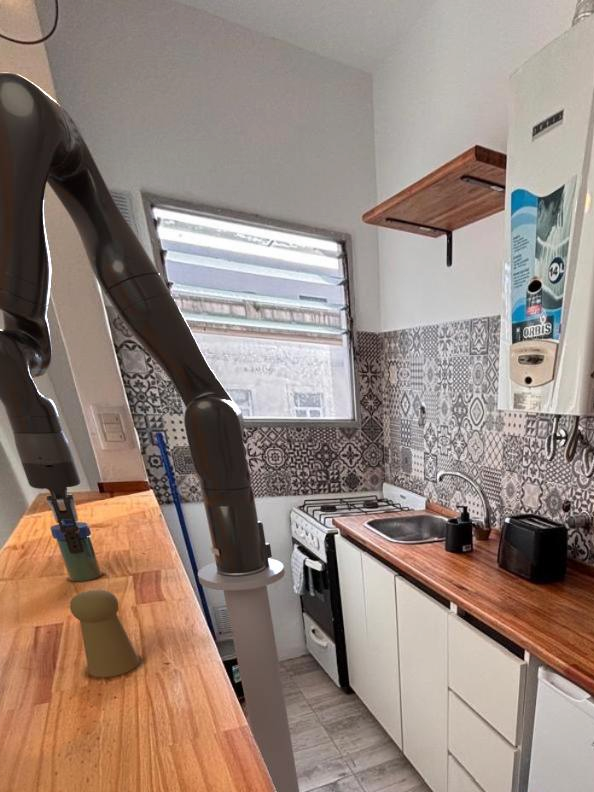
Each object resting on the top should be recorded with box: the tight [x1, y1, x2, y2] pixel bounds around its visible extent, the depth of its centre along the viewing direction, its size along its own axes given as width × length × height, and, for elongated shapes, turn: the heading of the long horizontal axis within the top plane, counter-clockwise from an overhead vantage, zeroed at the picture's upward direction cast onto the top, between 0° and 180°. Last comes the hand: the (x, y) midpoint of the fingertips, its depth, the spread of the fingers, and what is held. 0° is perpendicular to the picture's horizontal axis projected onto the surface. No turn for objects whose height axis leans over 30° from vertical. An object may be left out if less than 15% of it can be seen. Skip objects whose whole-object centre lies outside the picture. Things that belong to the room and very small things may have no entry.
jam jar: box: [55, 535, 102, 582], centre depth 100 cm, size 5×5×10 cm
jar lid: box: [49, 521, 92, 540], centre depth 98 cm, size 6×6×2 cm
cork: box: [69, 589, 140, 678], centre depth 70 cm, size 6×6×11 cm
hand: (76, 547), depth 100 cm, fingers open, 7 cm apart
